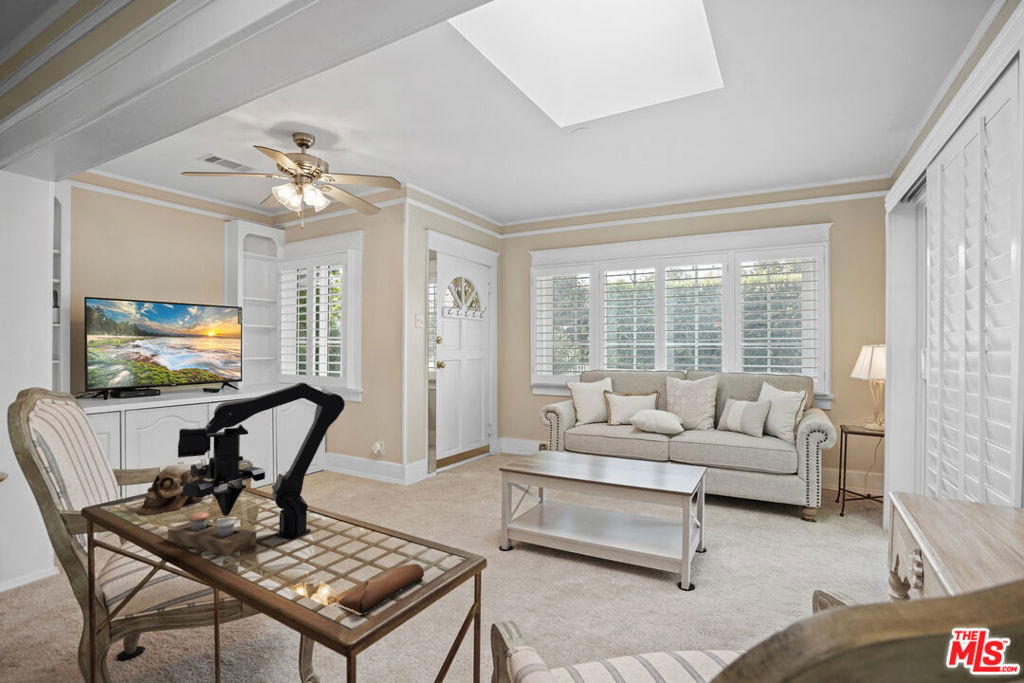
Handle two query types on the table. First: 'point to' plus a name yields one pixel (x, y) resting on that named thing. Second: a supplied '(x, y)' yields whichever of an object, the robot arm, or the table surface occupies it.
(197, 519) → the terracotta plunger
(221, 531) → the white domed knob
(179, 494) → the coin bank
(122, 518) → the table surface
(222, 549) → the walnut panel
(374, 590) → the sunglasses case
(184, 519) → the table surface
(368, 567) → the table surface
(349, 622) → the table surface
